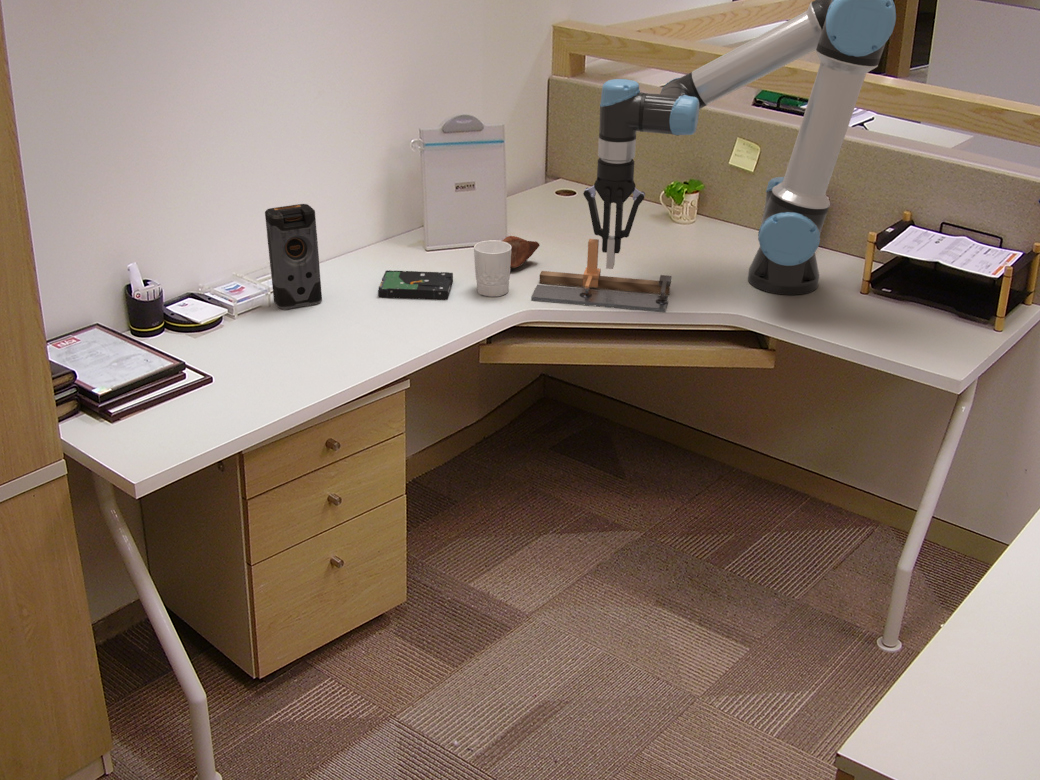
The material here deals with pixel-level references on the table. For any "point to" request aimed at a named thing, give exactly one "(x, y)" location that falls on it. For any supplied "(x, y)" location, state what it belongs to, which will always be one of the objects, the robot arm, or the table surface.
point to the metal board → (600, 298)
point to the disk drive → (416, 285)
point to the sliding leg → (591, 266)
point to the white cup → (492, 267)
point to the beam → (610, 282)
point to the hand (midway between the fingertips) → (610, 266)
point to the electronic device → (293, 256)
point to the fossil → (520, 250)
